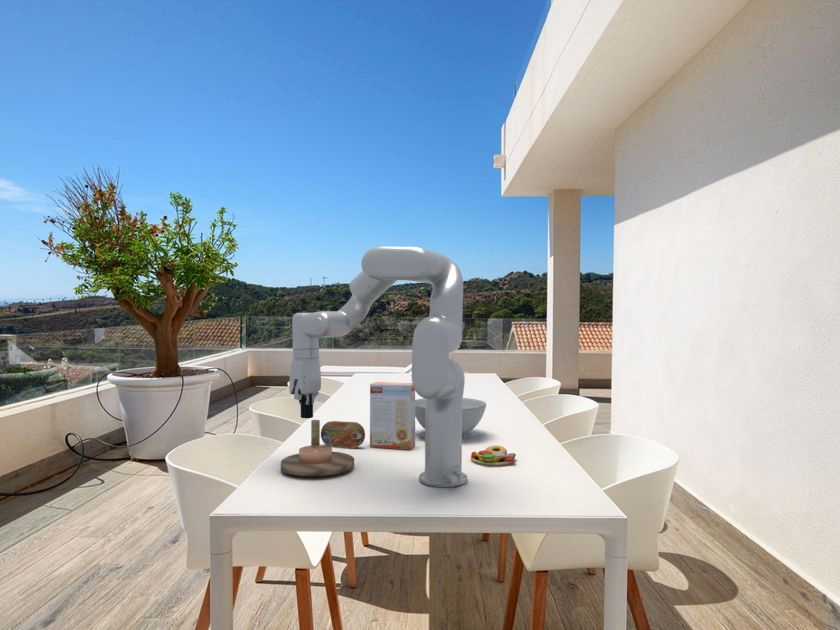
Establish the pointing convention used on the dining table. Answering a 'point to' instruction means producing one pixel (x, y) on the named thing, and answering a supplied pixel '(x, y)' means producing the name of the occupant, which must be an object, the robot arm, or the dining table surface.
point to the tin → (342, 434)
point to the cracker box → (392, 415)
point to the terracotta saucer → (315, 454)
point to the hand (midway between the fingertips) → (306, 417)
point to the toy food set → (493, 456)
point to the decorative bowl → (470, 413)
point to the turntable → (335, 466)
